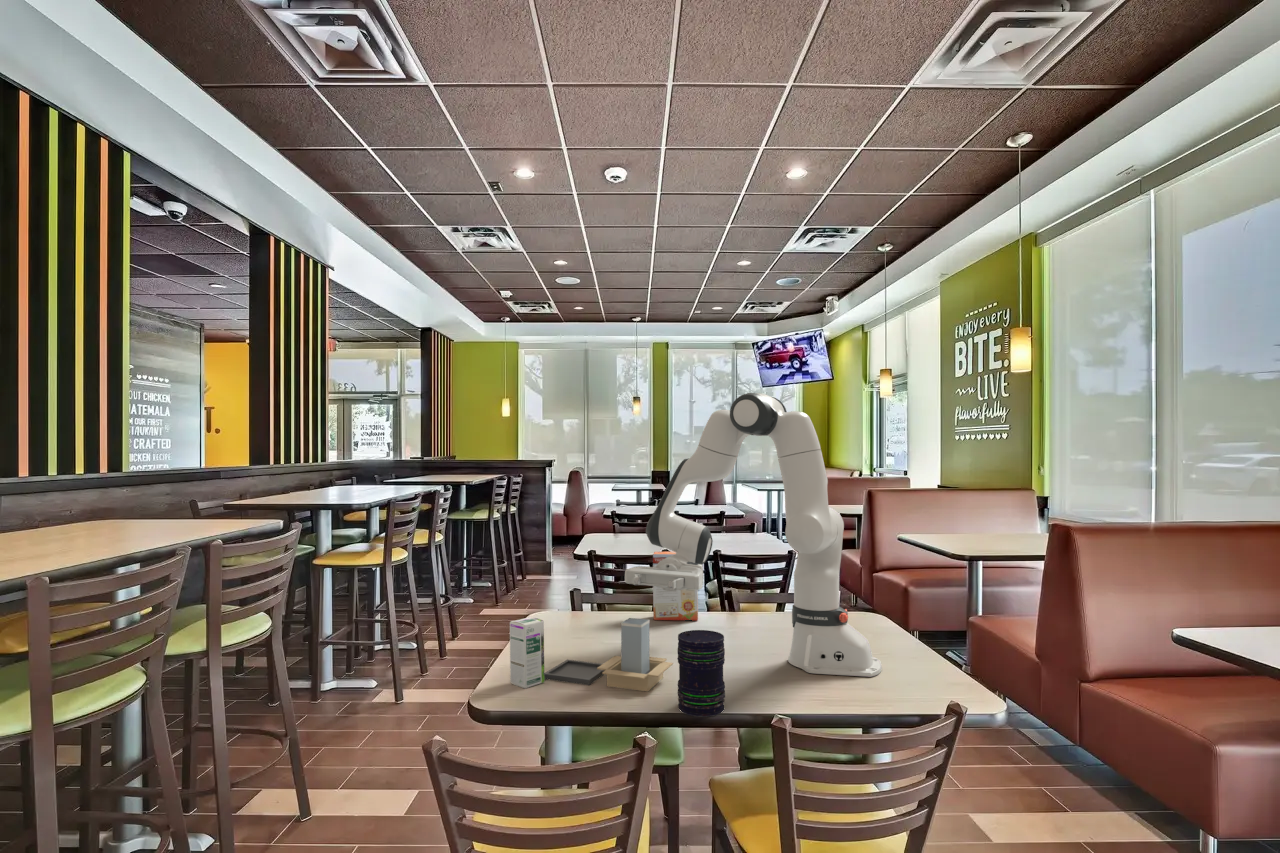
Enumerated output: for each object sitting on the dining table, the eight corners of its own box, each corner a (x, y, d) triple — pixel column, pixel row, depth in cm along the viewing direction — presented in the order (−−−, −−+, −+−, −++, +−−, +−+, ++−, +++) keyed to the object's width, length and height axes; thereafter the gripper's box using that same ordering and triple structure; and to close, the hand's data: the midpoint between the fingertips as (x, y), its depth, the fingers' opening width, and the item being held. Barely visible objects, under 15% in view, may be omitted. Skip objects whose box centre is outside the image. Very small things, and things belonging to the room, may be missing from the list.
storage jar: (731, 703, 152) (730, 632, 152) (716, 720, 143) (716, 644, 143) (687, 696, 156) (686, 628, 156) (670, 712, 147) (670, 639, 147)
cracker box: (698, 616, 228) (697, 551, 228) (697, 621, 222) (697, 553, 222) (654, 615, 229) (654, 550, 229) (652, 620, 223) (652, 553, 223)
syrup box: (525, 689, 161) (525, 624, 161) (509, 683, 165) (509, 620, 165) (544, 682, 165) (544, 619, 165) (528, 677, 169) (528, 615, 169)
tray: (610, 669, 174) (610, 664, 174) (589, 685, 163) (589, 679, 163) (567, 664, 179) (567, 659, 179) (543, 678, 168) (543, 673, 168)
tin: (649, 679, 167) (649, 619, 167) (641, 686, 162) (641, 624, 163) (629, 677, 169) (629, 617, 169) (621, 684, 164) (621, 622, 164)
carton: (676, 675, 170) (676, 659, 170) (654, 696, 156) (654, 679, 156) (619, 668, 175) (618, 653, 175) (592, 688, 161) (592, 671, 161)
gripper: (635, 559, 194) (615, 567, 181) (708, 564, 186) (692, 573, 174) (635, 582, 194) (614, 592, 181) (708, 589, 186) (691, 599, 173)
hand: (653, 583), depth 177 cm, fingers open, 8 cm apart
